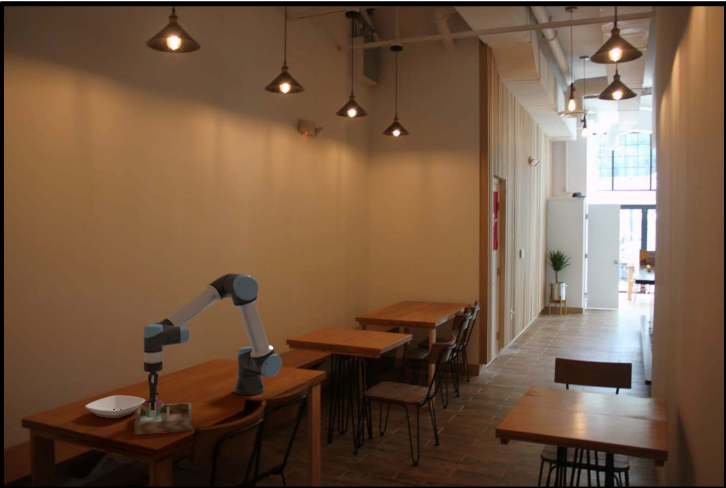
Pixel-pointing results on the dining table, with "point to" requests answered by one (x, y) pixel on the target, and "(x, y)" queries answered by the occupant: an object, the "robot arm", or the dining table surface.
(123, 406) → the bowl
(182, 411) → the crate
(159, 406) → the cupcake
